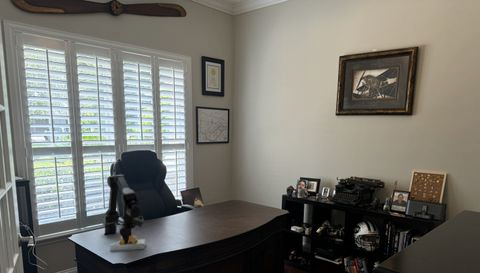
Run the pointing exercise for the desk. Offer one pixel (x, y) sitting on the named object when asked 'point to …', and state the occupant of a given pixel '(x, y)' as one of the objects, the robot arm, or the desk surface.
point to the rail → (127, 245)
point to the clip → (131, 238)
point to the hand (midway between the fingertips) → (128, 240)
